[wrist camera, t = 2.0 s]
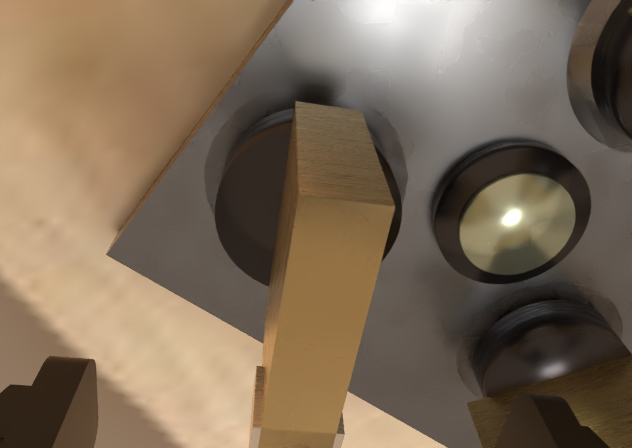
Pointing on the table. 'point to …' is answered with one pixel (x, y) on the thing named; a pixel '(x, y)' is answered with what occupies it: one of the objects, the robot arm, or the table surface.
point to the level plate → (425, 183)
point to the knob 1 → (308, 259)
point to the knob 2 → (555, 369)
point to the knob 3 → (615, 69)
